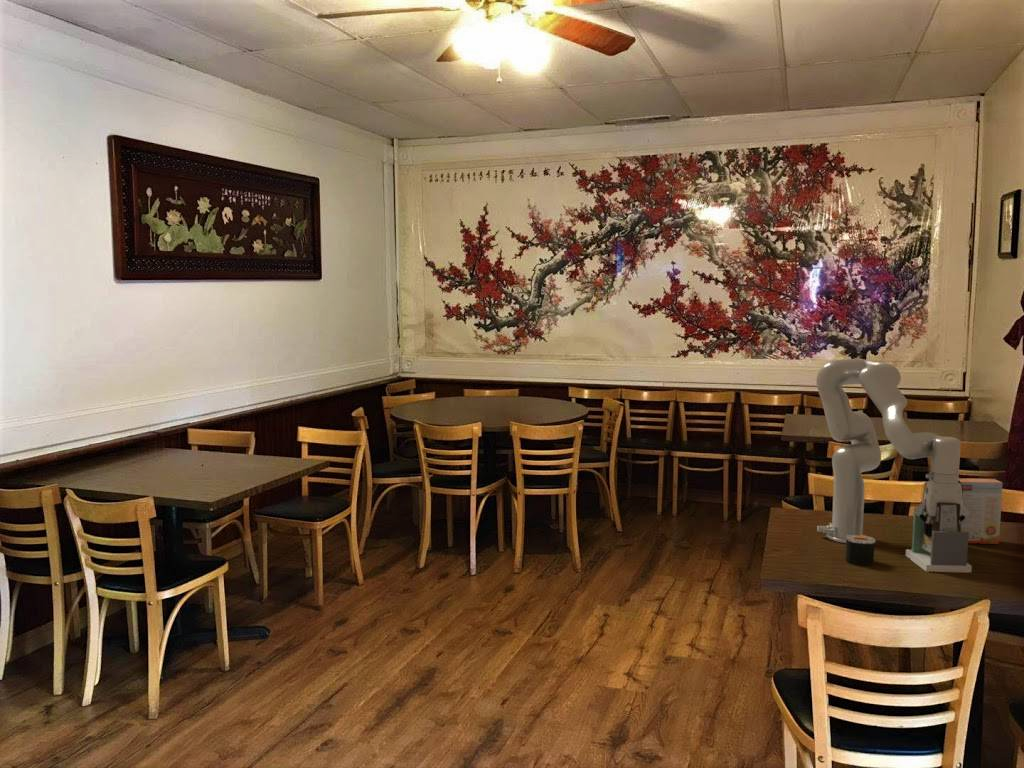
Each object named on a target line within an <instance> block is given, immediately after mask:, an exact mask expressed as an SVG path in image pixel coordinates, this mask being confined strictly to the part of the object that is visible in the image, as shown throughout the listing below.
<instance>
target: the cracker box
mask: <svg viewBox="0 0 1024 768" xmlns="http://www.w3.org/2000/svg"><path fill="white" fill-rule="evenodd" d="M958 480H959V481H960V482H961V483H962V486H963V506H965V507H966V508H967V509H968V510H969V511H970V514H969V515H967V516H966V517H965V519H964V520H963V521H962V522H961V530H960V532H968V533H969V537H968V544H977V543H979V545H980V544H982V545H984V544H985V545H999V544H1000V532H1001V518H1002V517H1001V516H1002V515H1001V514H1002V499H1003V498H1002V497H1003V496H1002V495H1003V482H1002V481H1000V480H997V479H996V478H969V477H968V478H962V477H958Z"/></svg>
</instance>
